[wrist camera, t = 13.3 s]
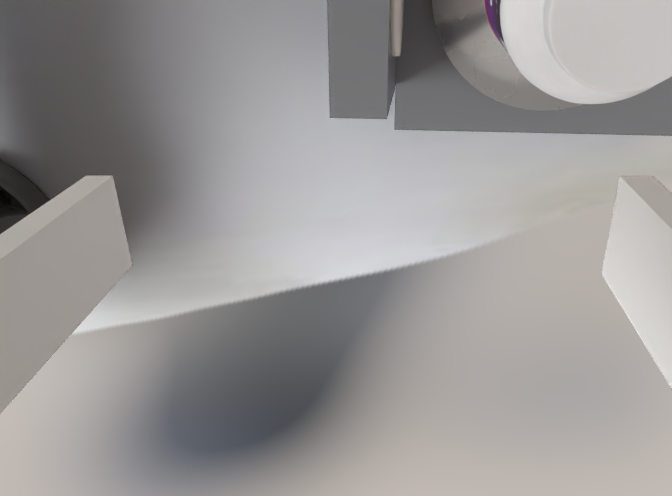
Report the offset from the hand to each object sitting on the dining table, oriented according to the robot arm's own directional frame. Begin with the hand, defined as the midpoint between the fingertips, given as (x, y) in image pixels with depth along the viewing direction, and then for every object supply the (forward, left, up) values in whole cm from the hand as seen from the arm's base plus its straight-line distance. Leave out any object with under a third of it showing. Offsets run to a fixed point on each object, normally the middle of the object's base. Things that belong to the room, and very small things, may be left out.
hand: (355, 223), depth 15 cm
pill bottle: (+9, +5, -23) cm, 25 cm away
